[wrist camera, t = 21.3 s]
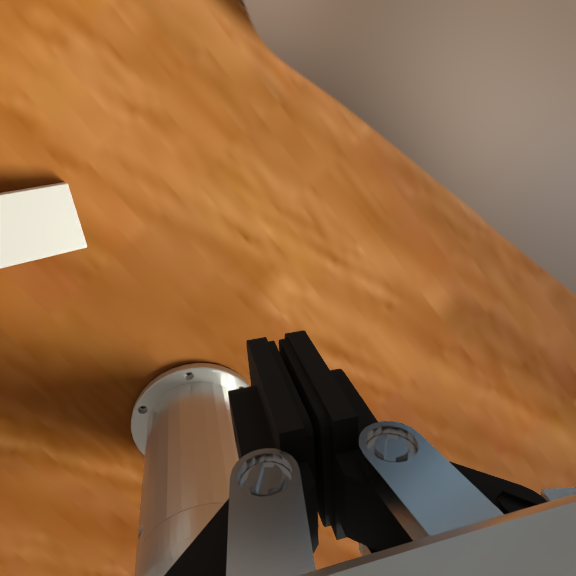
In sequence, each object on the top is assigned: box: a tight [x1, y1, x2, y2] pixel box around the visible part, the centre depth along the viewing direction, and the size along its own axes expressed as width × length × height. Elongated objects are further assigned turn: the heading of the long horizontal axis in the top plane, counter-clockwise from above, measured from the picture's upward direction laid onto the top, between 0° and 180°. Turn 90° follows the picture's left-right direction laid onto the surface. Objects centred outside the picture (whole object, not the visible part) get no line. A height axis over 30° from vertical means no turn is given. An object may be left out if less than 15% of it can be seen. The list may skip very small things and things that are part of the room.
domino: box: [0, 182, 87, 268], centre depth 31 cm, size 2×5×10 cm
